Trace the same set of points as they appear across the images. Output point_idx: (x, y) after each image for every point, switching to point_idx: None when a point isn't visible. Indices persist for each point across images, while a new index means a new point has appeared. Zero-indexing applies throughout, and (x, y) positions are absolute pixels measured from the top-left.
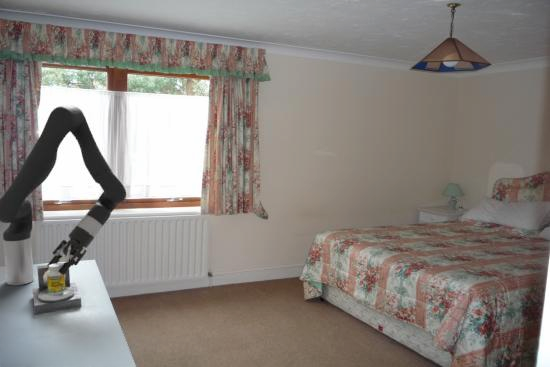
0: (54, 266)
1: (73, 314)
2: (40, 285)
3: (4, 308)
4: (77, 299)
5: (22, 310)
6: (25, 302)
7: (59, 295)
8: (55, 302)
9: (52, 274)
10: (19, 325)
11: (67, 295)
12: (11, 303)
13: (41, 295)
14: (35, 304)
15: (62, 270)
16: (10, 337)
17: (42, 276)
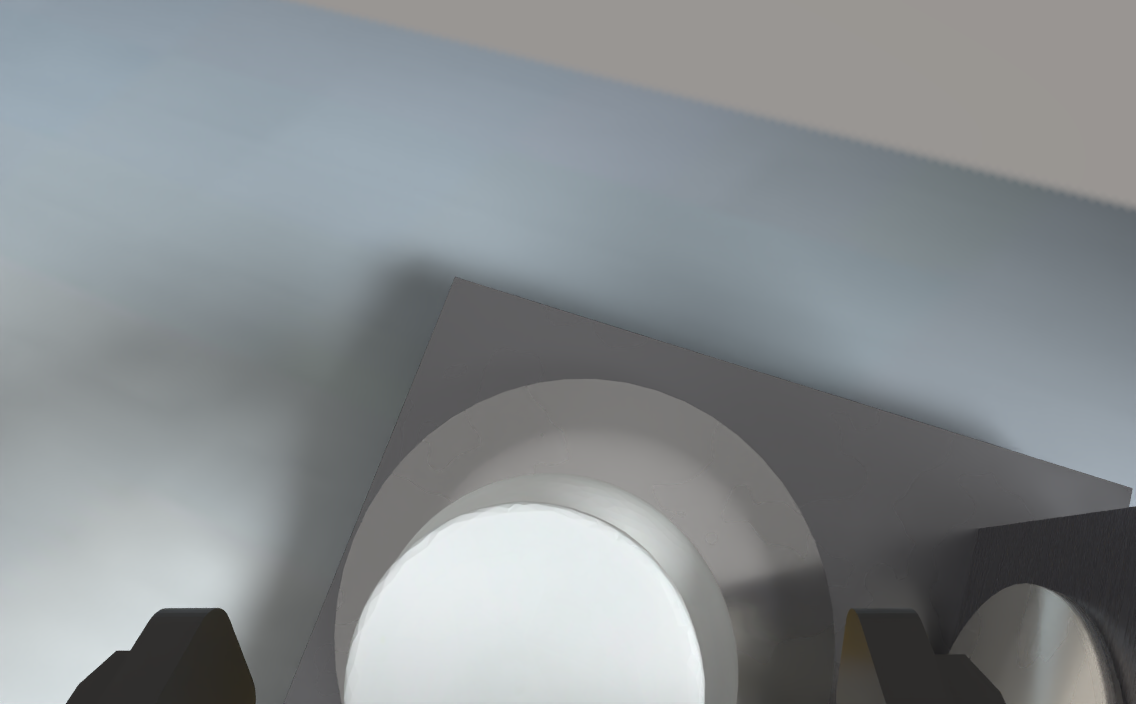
0: (392, 605)
1: (159, 608)
2: (1007, 546)
3: (898, 150)
4: None
5: (698, 262)
6: (930, 366)
7: None
8: (365, 502)
9: (427, 531)
10: (344, 128)
11: (340, 684)
12: (1009, 244)
13: (615, 415)
14: (490, 302)
15: (92, 678)
16: (172, 12)
17: (1073, 586)
